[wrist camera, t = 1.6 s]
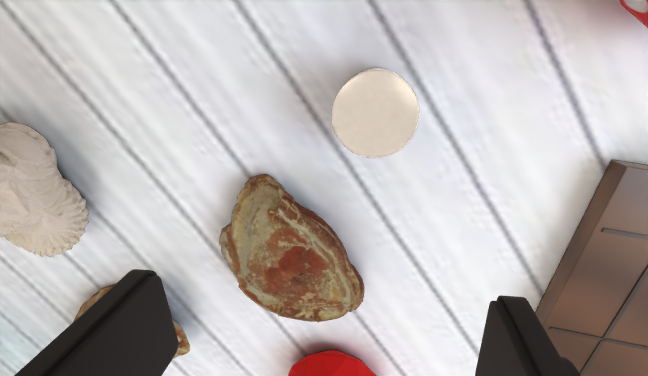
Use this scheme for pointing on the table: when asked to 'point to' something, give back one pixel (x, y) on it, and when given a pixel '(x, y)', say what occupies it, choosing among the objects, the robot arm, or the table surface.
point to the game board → (605, 281)
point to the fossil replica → (36, 195)
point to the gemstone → (330, 365)
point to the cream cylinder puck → (375, 113)
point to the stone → (288, 256)
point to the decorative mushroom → (637, 9)
